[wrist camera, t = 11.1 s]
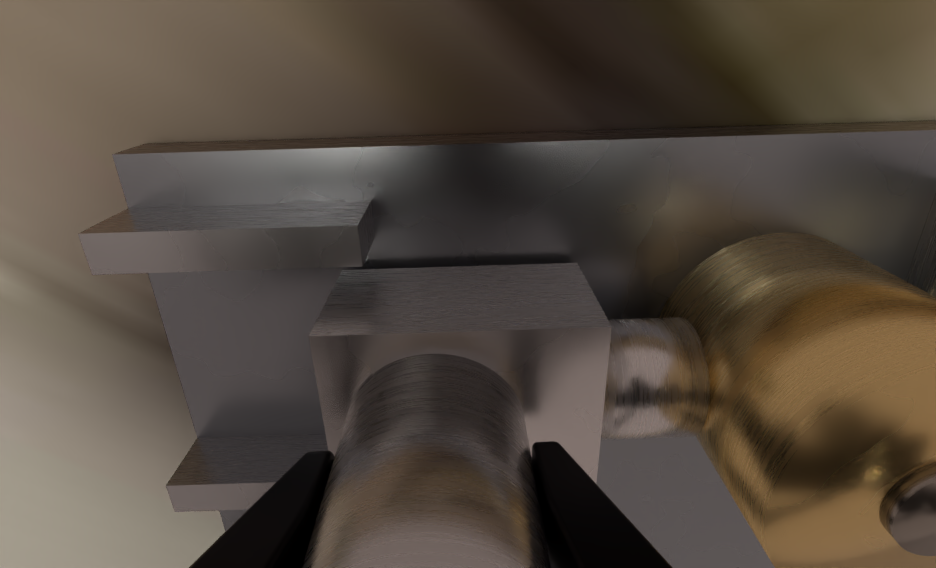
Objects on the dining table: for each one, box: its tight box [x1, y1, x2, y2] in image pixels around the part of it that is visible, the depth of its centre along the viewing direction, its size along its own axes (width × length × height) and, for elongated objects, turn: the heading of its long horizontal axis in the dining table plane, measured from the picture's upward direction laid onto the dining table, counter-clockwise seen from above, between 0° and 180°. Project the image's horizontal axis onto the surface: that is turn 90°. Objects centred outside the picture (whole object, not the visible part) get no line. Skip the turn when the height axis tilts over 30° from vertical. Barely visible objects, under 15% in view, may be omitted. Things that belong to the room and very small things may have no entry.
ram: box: [302, 263, 710, 568], centre depth 8 cm, size 4×7×8 cm, turn 92°
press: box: [78, 120, 936, 568], centre depth 12 cm, size 15×18×6 cm
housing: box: [659, 232, 936, 568], centre depth 10 cm, size 5×5×5 cm
